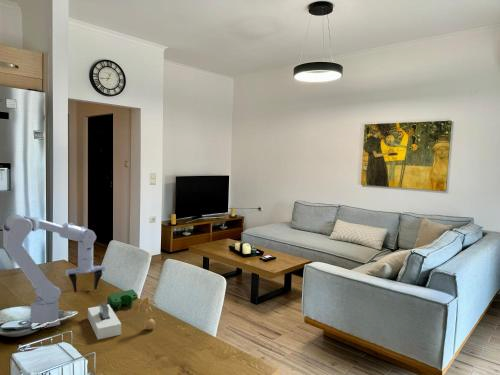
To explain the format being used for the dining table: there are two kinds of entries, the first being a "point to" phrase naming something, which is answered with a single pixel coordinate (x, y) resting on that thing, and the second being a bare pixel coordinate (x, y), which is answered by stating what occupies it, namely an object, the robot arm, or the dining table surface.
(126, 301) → the clamp
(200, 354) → the dining table surface
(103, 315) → the bracket
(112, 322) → the white slotted block
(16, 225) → the robot arm
